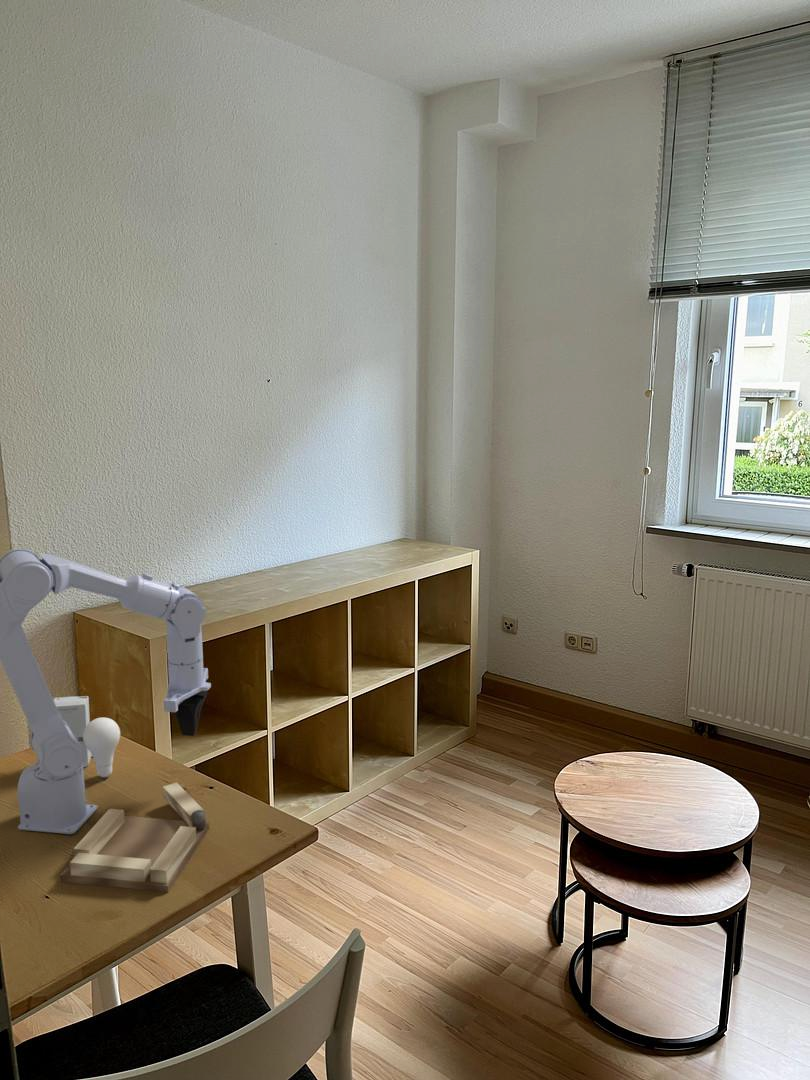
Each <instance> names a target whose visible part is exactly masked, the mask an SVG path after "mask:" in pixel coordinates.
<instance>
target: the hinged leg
mask: <svg viewBox="0 0 810 1080" xmlns="http://www.w3.org/2000/svg"><path fill="white" fill-rule="evenodd" d="M162 791H163V795H162V796H163V799H164V800H165V801H166V802H167V803H168V804H169V805H170V806H171V808H173V809H174V811H175V812H176V813H177V814H178V815H179V816H180V818H182V820H183V821H185V822H186V823H187V824H188V825H189V826H190V827H196V830H201V829H203V828H205V827H206V823H207V820H206V818H207V817H206V811H205V810H204V809H203V807H201V806H200V804H198V803H197V801H196V800H195V799H194V798H193V797H192V796H191V795H190V794H189V793H188V792H187V791H186V790H185V789H184V788H183V787H182V786H181V785H180V784H179V783H178V782H173V783H170V784H167V785H164V786H162Z"/></svg>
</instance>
